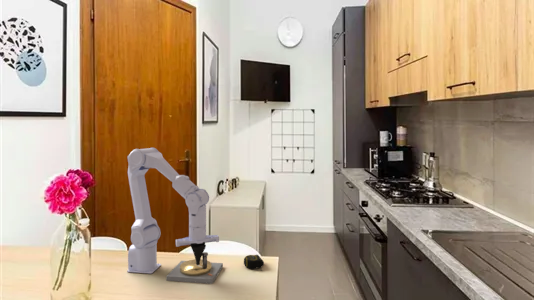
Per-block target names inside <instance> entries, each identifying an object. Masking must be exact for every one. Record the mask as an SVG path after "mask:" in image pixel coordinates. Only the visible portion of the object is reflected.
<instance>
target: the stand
mask: <svg viewBox="0 0 534 300" xmlns="http://www.w3.org/2000/svg"><path fill="white" fill-rule="evenodd" d="M185 261H186V260H180V261H179V263H178V264H177V265H175V266H174V268H173V269H171V271H170V272H169V273H168V274H167V275H166V277H165V280H166V281H170V282H183V283H196V284H197V283H198V284H208V285H210V284H211V285H213V284H214V282H215V280H216V278H218V275H219V274H220V272H221V271H222V269H223V267H224V264H223V263H222V262H211V264H212V269H211V271H210V272H208V273H206V274H203V275H199V276H188V275H184V274H182V273H181V272H180V265H181V264H182V263H183V262H185Z"/></svg>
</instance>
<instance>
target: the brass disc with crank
mask: <svg viewBox="0 0 534 300" xmlns="http://www.w3.org/2000/svg"><path fill="white" fill-rule="evenodd" d="M208 256H209V253H208V252H207V251H203V254H202V256H201V260H200V265H197V264H196V260H195V258H194V259H189V260H184V261H185V262H183V263H182V264H181V265H180V272H181V273H182V274H184V275H188V276H199V275H203V274H206V273H208V272H210V271H211V269H212V264H211V263H212V261H210V260H208Z"/></svg>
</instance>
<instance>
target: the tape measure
mask: <svg viewBox="0 0 534 300" xmlns="http://www.w3.org/2000/svg"><path fill="white" fill-rule="evenodd" d="M243 265H244V267H245V268H247V269H252V270H255V269H260V268H263V267H264V265H265V262H264V260H263V259H262V258H261V257H260V256H259V254H248V255H246V256H245V257H244V258H243Z"/></svg>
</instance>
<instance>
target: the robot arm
mask: <svg viewBox="0 0 534 300" xmlns="http://www.w3.org/2000/svg"><path fill="white" fill-rule="evenodd" d="M127 162H128V166H127V167H128V168H127V177H128V184H129V190H130V195H131V202H132V206H133V211H134V212H133V214H134V218H135V220H134V222H133V224H132V226H131V235H130V241H131V242H130V243H131V245H130V246H129V248H128V252H127V269H126V270H127V271H126V272H128V273H135V274H136V273H141V274H154V272H155V271H156V270H158V269H159V268H160V267H161V266H162V264H161V263H158V260H157V259H158V258H157V256H158V255H157V253H158V252H157V249H158V248H157V243H158V240H159V239H160V237H161V235H162V234H161V228H160V227H159V225H158V222H157V220H156V218H153V217H152V212H151V206H150V205H151V204H150V200H149V195H148V190H147V189H148V188H147V184H146V178H145V177H146V176H145V175H146V173H147V172H148V171H149V169H156V170H157V171H158V172H159V173H161V174H162V175H163V176H164V177H165V178H166V179H168V180H169V181H170V182H172V184H171V186H172V188H173V189H174V190H175V191H176V192H177V193H178V194H179V195H180V196H181V197H182V198H183V199H184V200H185V204H186V206H187V208H188V236H186V237H183V238H178V239H177V238H176V239H175V247H176V248H177V247H178V248H179V247H181V246H190V248H191V251H192V253H193V255H194V259H195V260H196V264H197V265H200V260H201V259H202V254H203V252H205V249H206V247H207V245H206V244H207V243H215V242H216V243H219V242H220V236H219V235H218V234H214V235H212V234H207V204H208V203H209V201H210V195H209V193H208V192H207V190H206V189H205V188H200V187H199V186H198V185H196V184H195V183H194V182H193V181H191V179H190V177H189V176H188V175H185V174H179V173H178V172H177V170H176V169H174V167H173V166H171V165H170V163H169V162H168V161H167V160H166V159H165V157H163V153H162V152H160V151H159V150H158V149H157V148H155V147H150V148H149V147H148V148H147V147H146V148H140V149H139V148H135V149H132V151H130V153H129V154H128V155H127Z"/></svg>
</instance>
